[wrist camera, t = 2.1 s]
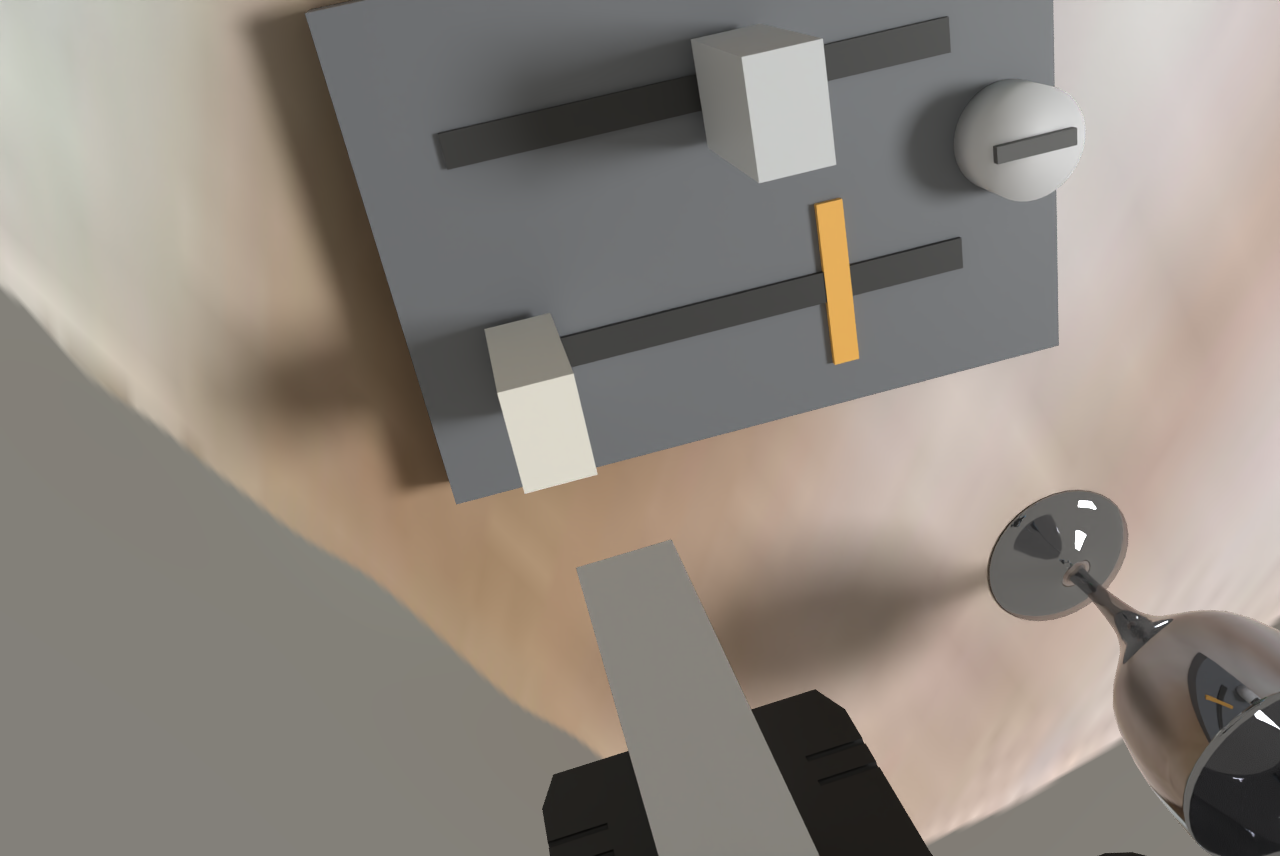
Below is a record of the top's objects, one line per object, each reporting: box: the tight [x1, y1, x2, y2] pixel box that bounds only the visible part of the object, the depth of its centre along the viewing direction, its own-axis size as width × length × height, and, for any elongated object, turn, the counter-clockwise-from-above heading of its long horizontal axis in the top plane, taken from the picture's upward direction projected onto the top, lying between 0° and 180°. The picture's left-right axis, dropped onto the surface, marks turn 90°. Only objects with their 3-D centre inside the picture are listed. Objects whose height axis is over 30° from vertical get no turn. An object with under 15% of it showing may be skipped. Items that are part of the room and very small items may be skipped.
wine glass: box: [989, 490, 1280, 856], centre depth 44 cm, size 8×8×15 cm
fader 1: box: [484, 313, 598, 494], centre depth 36 cm, size 4×2×6 cm, turn 11°
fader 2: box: [691, 24, 836, 183], centre depth 34 cm, size 4×2×6 cm, turn 11°
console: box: [305, 0, 1086, 504], centre depth 38 cm, size 18×25×4 cm
